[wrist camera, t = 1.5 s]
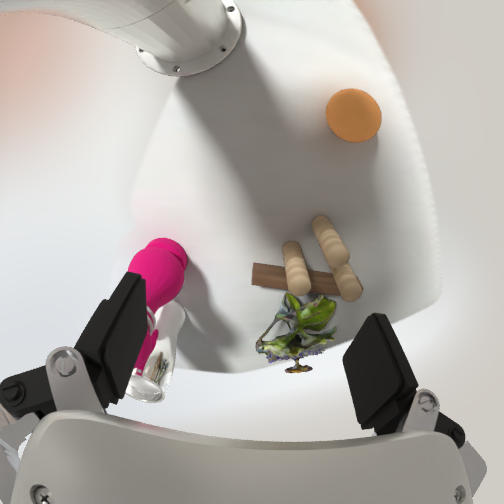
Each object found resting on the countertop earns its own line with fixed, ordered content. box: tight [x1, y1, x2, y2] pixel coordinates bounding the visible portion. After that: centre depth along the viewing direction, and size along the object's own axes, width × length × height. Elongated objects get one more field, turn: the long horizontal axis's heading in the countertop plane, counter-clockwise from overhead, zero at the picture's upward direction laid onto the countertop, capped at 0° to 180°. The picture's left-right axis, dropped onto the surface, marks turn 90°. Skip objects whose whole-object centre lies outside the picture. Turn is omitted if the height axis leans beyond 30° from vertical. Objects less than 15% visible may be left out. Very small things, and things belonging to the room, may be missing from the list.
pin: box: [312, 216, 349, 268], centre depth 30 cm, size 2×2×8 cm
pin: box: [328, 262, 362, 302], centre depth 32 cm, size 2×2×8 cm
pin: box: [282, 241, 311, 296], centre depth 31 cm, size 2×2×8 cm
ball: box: [326, 89, 381, 143], centre depth 24 cm, size 6×6×6 cm
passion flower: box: [256, 292, 337, 373], centre depth 37 cm, size 11×11×12 cm
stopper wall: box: [252, 263, 363, 295], centre depth 36 cm, size 2×15×3 cm, turn 82°
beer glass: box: [125, 300, 186, 403], centre depth 34 cm, size 7×7×15 cm
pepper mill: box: [128, 238, 187, 369], centre depth 27 cm, size 7×7×20 cm
